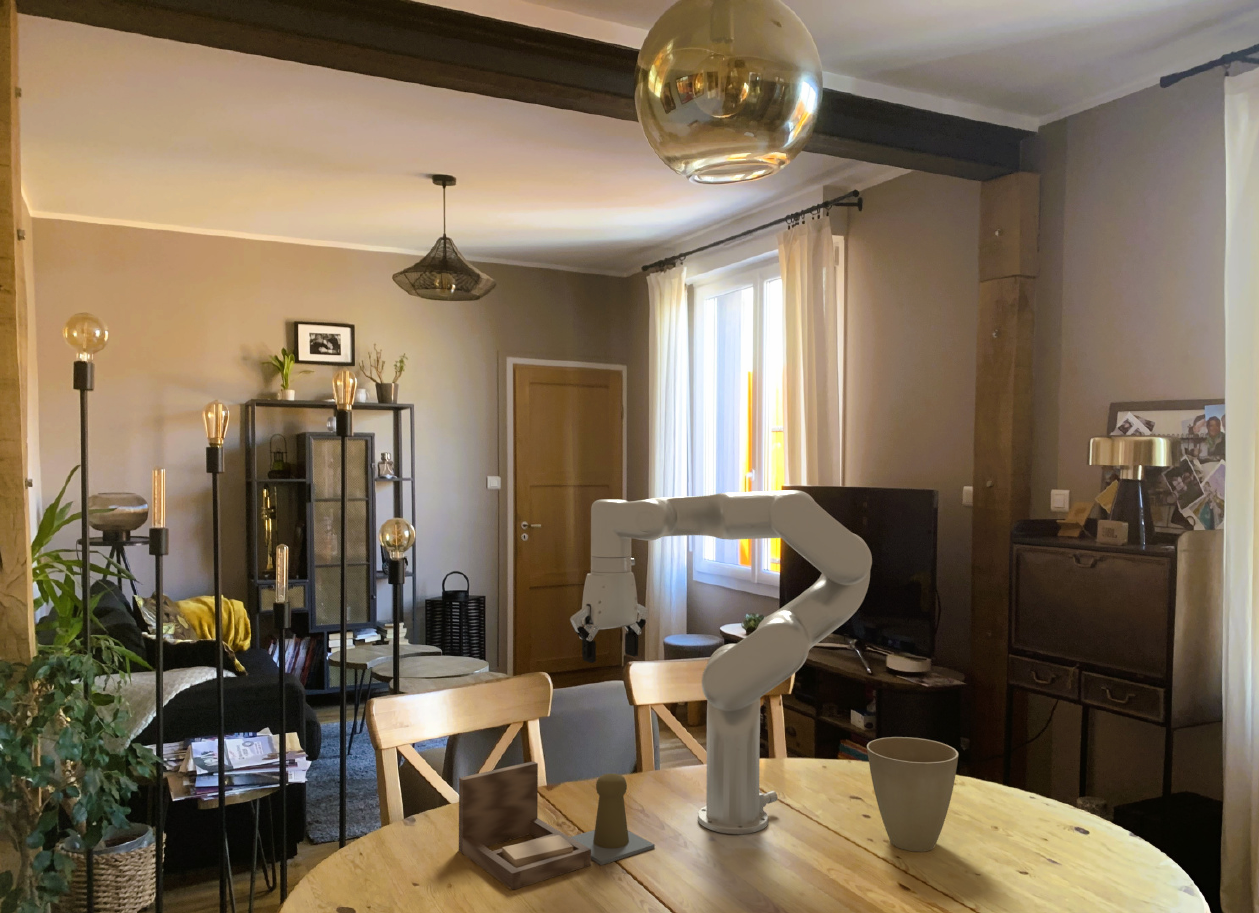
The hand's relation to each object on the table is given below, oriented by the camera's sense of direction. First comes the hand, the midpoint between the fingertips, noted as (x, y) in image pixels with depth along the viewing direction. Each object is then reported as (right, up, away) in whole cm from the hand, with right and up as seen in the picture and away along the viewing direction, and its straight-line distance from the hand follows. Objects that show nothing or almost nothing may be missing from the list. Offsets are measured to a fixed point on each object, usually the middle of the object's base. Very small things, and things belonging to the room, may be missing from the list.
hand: (610, 658), depth 169 cm
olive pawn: (0, -28, -15) cm, 32 cm away
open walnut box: (-14, -28, -20) cm, 37 cm away
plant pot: (+52, -29, -14) cm, 61 cm away
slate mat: (0, -28, -15) cm, 32 cm away
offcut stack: (-11, -28, -24) cm, 39 cm away
